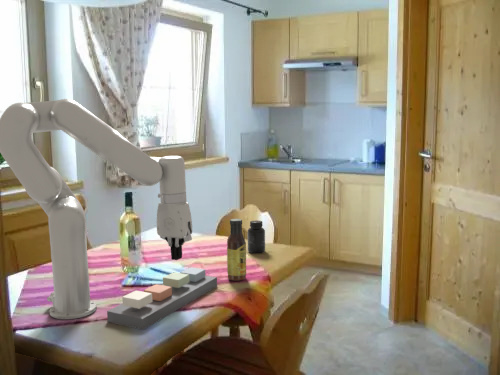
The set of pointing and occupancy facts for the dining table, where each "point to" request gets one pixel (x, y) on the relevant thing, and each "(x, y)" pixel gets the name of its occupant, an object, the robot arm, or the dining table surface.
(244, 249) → the sauce bottle
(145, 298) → the cream key
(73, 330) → the dining table surface
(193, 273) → the slate key
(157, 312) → the keypad base
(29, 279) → the dining table surface
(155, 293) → the terracotta key
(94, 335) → the dining table surface
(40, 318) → the dining table surface
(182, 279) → the sage key
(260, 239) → the supplement bottle
